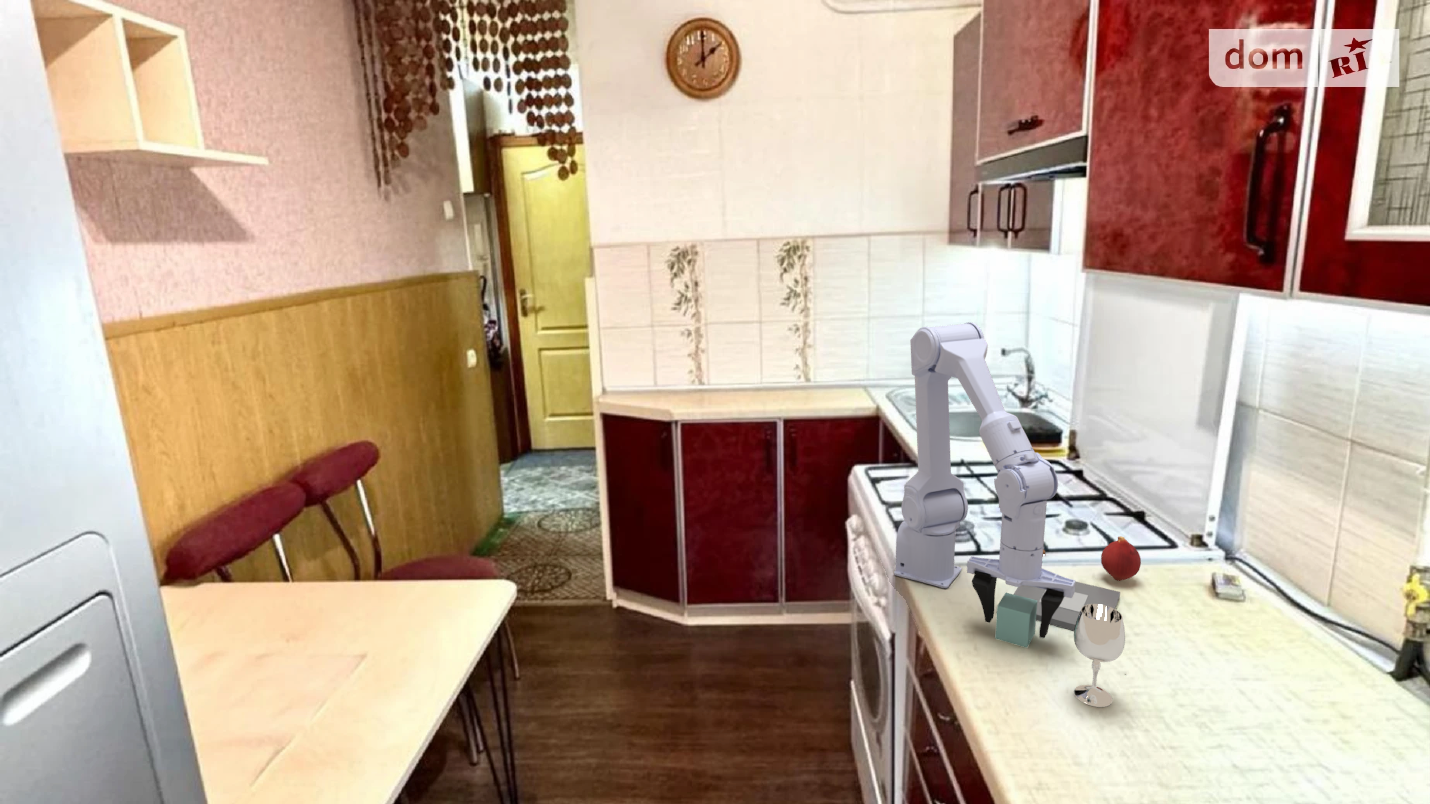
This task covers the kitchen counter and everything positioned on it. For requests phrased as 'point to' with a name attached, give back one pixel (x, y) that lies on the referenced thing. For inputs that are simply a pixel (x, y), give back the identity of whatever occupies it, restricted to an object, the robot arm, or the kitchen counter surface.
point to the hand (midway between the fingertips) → (1015, 626)
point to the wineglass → (1098, 646)
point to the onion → (1121, 559)
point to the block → (1016, 619)
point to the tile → (1071, 602)
